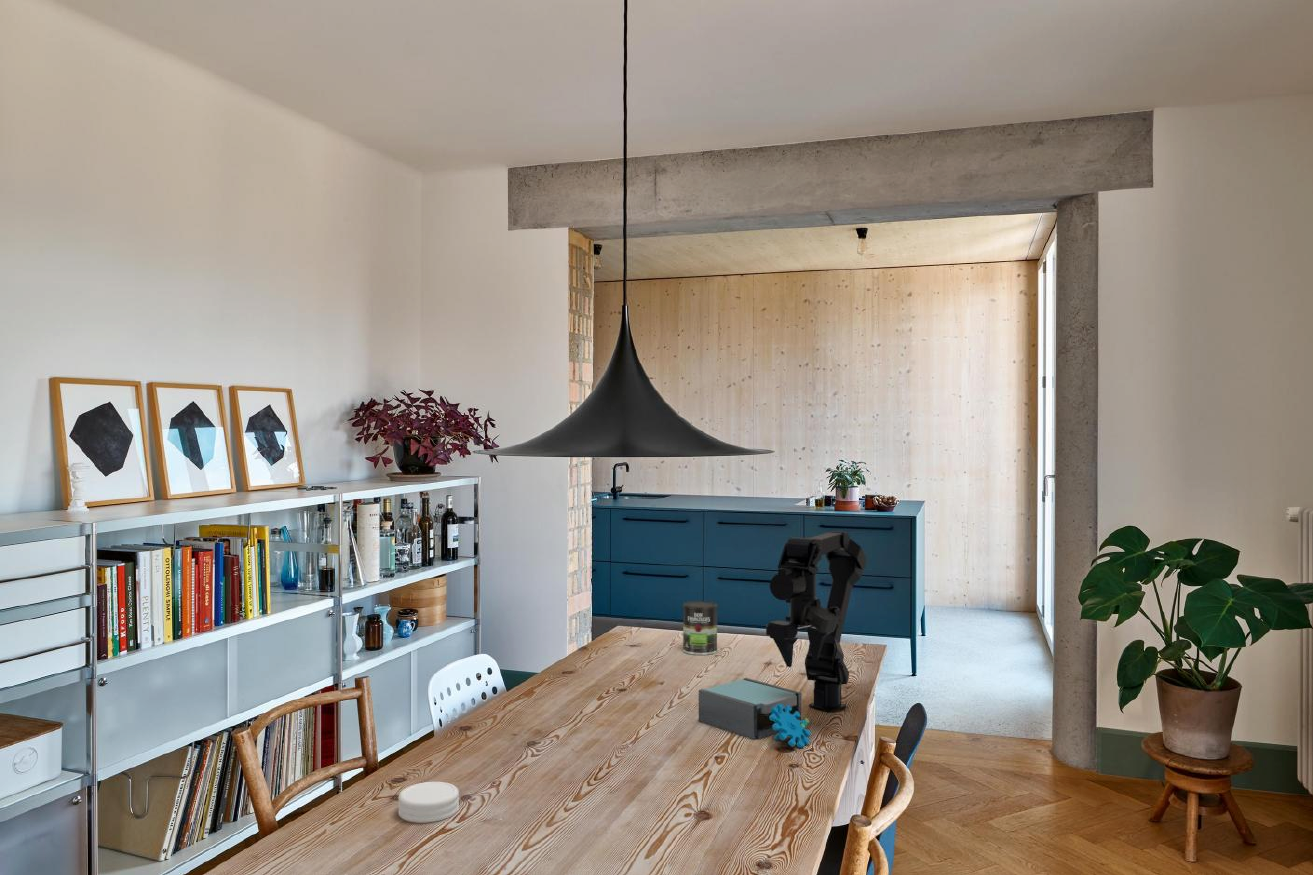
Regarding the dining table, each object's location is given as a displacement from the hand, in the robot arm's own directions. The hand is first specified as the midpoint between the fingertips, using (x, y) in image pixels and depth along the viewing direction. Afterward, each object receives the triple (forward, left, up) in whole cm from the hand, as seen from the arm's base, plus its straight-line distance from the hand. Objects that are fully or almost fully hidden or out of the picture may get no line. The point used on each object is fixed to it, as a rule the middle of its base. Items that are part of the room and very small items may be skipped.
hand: (802, 663), depth 204 cm
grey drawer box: (+10, -7, -13) cm, 18 cm away
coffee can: (-30, -63, -13) cm, 71 cm away
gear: (+13, +8, -13) cm, 20 cm away
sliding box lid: (+10, -7, -8) cm, 14 cm away
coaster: (+86, -11, -13) cm, 88 cm away
